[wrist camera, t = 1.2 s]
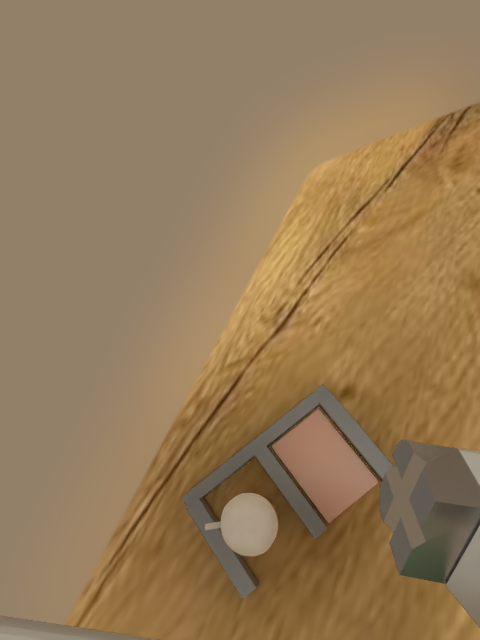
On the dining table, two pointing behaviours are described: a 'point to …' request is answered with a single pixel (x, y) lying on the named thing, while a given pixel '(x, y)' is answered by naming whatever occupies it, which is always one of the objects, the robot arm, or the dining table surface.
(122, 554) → the dining table surface
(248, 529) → the milkshake
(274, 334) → the dining table surface
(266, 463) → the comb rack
